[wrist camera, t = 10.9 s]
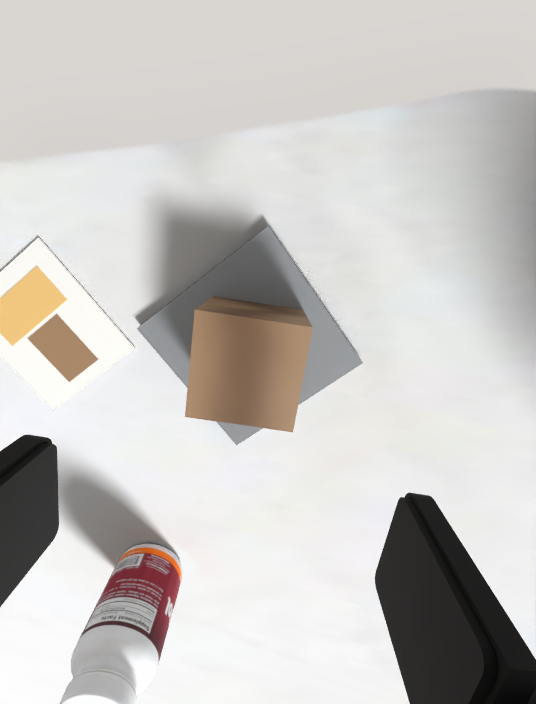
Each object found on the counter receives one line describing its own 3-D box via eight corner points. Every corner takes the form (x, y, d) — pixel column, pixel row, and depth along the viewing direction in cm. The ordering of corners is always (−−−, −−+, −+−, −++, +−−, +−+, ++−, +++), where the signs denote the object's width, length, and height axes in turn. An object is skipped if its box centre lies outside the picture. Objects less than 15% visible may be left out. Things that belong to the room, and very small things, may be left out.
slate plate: (360, 359, 26) (362, 362, 25) (237, 439, 28) (236, 445, 27) (268, 226, 23) (268, 225, 23) (140, 326, 25) (136, 328, 25)
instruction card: (135, 347, 26) (134, 348, 26) (54, 409, 27) (52, 410, 27) (39, 237, 24) (37, 237, 24) (-42, 312, 25) (-45, 312, 25)
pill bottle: (170, 599, 33) (121, 760, 23) (110, 576, 32) (32, 732, 22) (194, 554, 32) (154, 706, 21) (132, 530, 31) (59, 674, 20)
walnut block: (303, 309, 24) (312, 327, 18) (288, 392, 26) (292, 432, 20) (213, 296, 24) (194, 309, 18) (204, 380, 26) (185, 416, 20)
